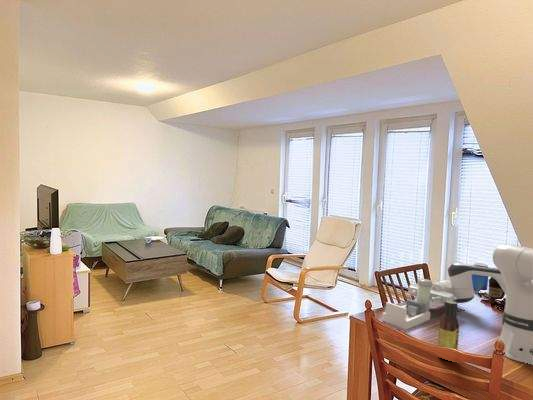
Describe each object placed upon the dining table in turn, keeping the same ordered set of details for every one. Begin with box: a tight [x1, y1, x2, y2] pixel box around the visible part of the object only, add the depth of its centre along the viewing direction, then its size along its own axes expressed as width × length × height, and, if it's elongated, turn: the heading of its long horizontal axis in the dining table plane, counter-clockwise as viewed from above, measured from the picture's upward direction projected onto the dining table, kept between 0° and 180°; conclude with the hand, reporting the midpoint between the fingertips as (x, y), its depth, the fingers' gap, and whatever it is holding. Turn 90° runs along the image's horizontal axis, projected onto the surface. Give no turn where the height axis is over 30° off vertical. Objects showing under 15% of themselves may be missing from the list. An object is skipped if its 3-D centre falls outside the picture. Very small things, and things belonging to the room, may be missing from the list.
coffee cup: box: [488, 277, 506, 304], centre depth 201 cm, size 9×8×13 cm
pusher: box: [405, 299, 426, 315], centre depth 173 cm, size 8×4×6 cm, turn 41°
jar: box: [415, 278, 433, 312], centre depth 178 cm, size 6×6×16 cm
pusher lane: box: [381, 301, 431, 331], centre depth 169 cm, size 11×20×8 cm, turn 131°
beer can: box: [472, 262, 489, 295], centre depth 219 cm, size 8×8×16 cm
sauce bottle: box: [437, 300, 460, 351], centre depth 135 cm, size 7×6×20 cm
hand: (422, 296), depth 178 cm, fingers open, 8 cm apart
